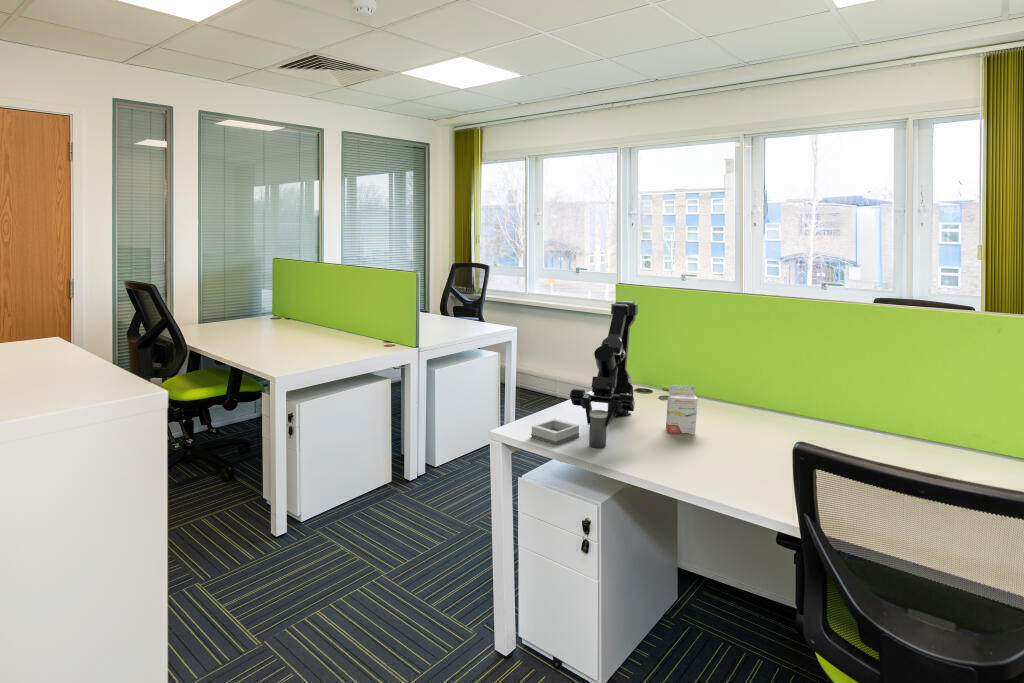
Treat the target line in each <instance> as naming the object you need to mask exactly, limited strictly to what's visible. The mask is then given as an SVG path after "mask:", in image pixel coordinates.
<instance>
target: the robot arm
mask: <svg viewBox="0 0 1024 683" xmlns="http://www.w3.org/2000/svg"><path fill="white" fill-rule="evenodd" d="M638 313H639V305H638V304H636V302H635V301H630V300H628V301H627V300H616V301H615V303H611V305H610V315H612V317H611V321H610V325H609V330H608V333H607V337H605V338H604V339H603V340H602V342H601V345H600V346H599V347H597V348H595V350H594V353H593V354H594V360H595V365H596V367H597V369H598V372H597V376H592V378H591V379H592V381H591V388H592V389H591V393H593V394H590V393H588V392H587V393H586V391H585V389H579V388H573V389H571V390H570V393H569V398H570V401H571V404H572V405H573V406H579V407H581V408H582V409H585V413H586V423H587V425H589V426H590V411H592V410H593V407H592V403H602V404H603V403H604V404H607V410H605V411H606V412H608V416H607V419H606V427H607V428H608V427H609V425H610V423H611V422H612V421H613V420H614V419H615V418H623V417H627V416H628V417H629V416H632V413H631V412H634V411H635V407H636V406H635V404H636V403H635V402H636V401H635V396H634V386H633V385H632V381H631V376H630V374H629V372H628V370H627V369H628V368H627V367H628V356H629V355H628V354H629V341H630V332H631V331H630V329H631V327H632V326H633V324H634V323H635V321H636V317H637V316H638Z"/></svg>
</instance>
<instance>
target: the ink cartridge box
mask: <svg viewBox="0 0 1024 683" xmlns="http://www.w3.org/2000/svg"><path fill="white" fill-rule="evenodd" d="M668 388H669V389H668V394H667V405H666V406H667V407H666V420H665V421H666V422H665V429H666V431H667V433H668V434H676V433H689V434H688V435H696V428H697V427H696V426H697V416H698V415H697V414H698V402H699V401H698V400H699V399H698V397H697V396H696V395H695V391H696V390H695V389H696V386H695V385H687V384H685V385H684V384H669V386H668ZM679 389H683V390H679ZM692 433H693V434H692Z"/></svg>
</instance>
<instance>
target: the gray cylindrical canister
mask: <svg viewBox="0 0 1024 683" xmlns="http://www.w3.org/2000/svg"><path fill="white" fill-rule="evenodd" d="M606 411H607V410H602V409H592V411H590V424H589V431H588V432H589V434H588V436H589V438H588V446H589V447H591V448H594V449H595V448H596V449H604V448H605V447H607V436H608V435H607V433H608V432H607V430H608V426H607V427H606V419H607V416H608V412H606Z"/></svg>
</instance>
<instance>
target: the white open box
mask: <svg viewBox="0 0 1024 683" xmlns="http://www.w3.org/2000/svg"><path fill="white" fill-rule="evenodd" d="M531 436H532V437H531ZM530 437H531V438H533V437H535V438H534V439H536V438H538V439H537V440H539V439H541V440H540V441H542V440H544V441H543V442H545V441H547V442H546V443H548V442H550V443H549V444H552V445H555V446H557V445H560V444H563V443H565V442H568V441H571V440H574V439H577V438H579V437H580V425H578V424H575V423H571V422H568V421H565V420H562V419H557V418H553V419H550V420H547V421H544V422H541V423H537V424H534V425H532V426H531V434H530Z"/></svg>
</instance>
